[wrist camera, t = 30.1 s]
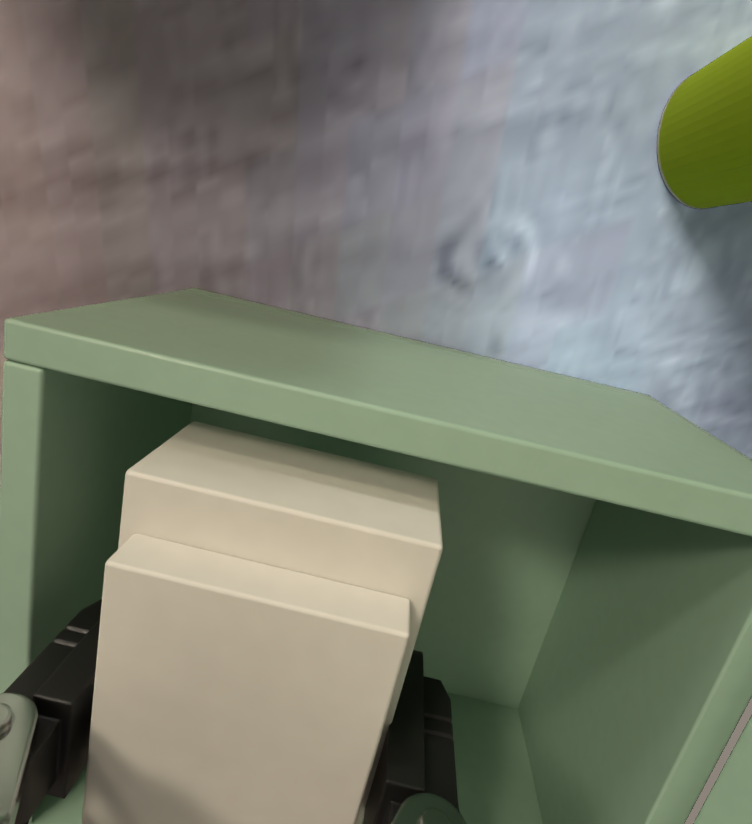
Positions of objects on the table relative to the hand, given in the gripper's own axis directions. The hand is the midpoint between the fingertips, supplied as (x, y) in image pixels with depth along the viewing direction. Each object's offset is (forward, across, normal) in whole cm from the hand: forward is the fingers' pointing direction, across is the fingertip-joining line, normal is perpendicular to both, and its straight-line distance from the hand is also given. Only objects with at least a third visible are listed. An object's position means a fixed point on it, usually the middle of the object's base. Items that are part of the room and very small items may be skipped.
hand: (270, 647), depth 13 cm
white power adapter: (0, 0, 0) cm, 0 cm away
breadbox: (+7, -2, 0) cm, 8 cm away
